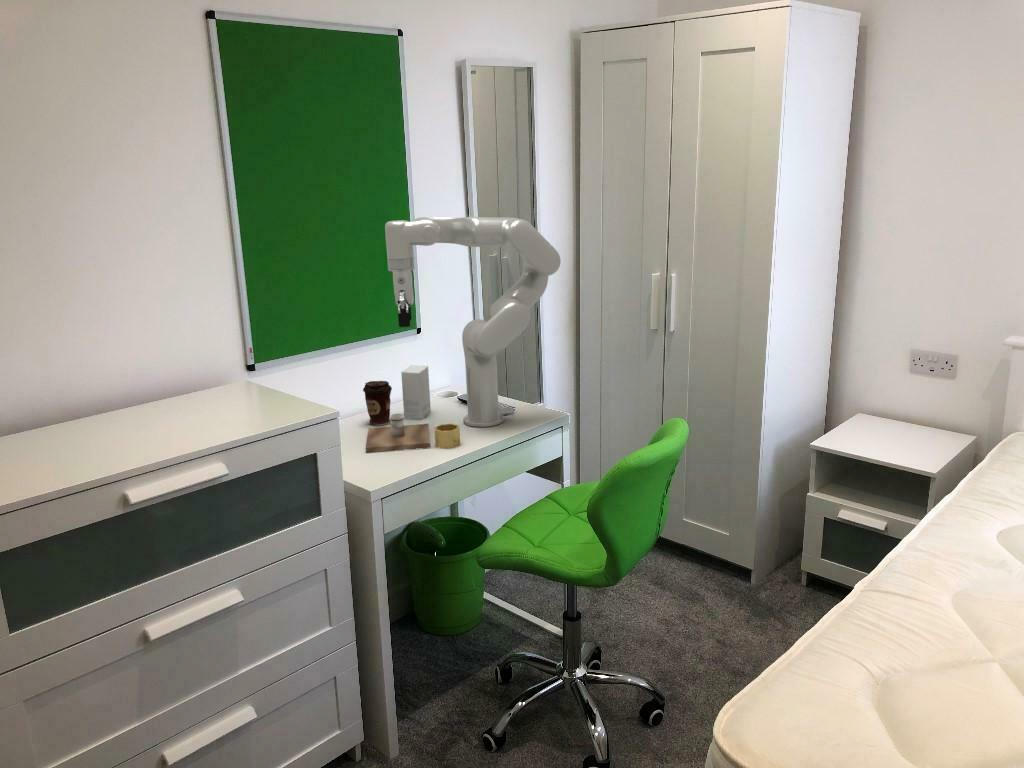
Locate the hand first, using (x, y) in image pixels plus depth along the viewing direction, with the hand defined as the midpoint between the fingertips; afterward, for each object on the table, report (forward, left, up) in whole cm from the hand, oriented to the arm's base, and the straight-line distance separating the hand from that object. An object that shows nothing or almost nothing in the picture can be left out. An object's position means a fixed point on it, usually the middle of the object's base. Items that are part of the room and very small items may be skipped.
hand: (405, 323), depth 242 cm
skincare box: (-2, -15, -33) cm, 36 cm away
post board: (+4, +8, -33) cm, 34 cm away
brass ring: (-10, +15, -33) cm, 37 cm away
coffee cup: (+10, -10, -33) cm, 36 cm away
